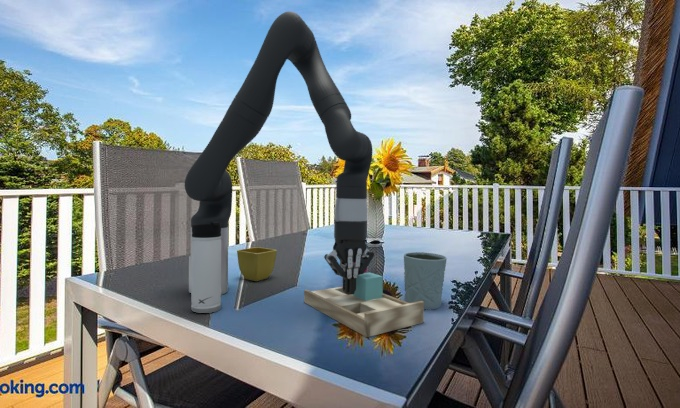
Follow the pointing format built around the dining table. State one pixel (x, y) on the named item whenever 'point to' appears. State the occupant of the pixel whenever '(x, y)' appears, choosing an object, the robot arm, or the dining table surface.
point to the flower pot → (256, 262)
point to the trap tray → (366, 311)
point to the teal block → (369, 286)
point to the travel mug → (206, 268)
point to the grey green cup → (424, 278)
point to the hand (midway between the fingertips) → (349, 293)
